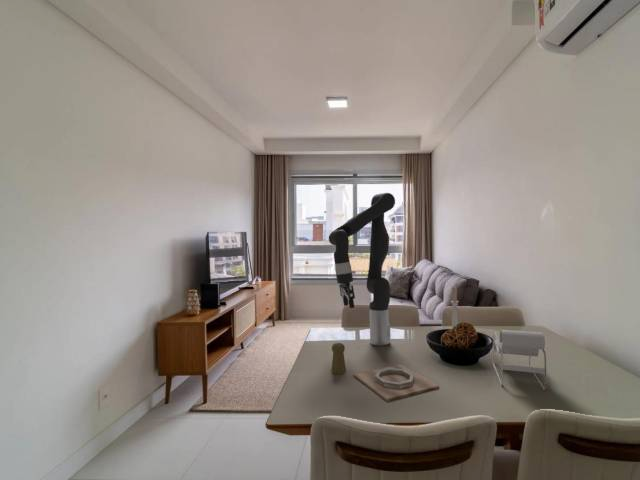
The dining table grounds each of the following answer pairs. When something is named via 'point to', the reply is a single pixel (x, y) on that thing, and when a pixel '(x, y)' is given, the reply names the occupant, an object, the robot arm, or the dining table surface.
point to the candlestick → (454, 307)
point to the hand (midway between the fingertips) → (349, 306)
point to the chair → (520, 350)
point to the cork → (338, 359)
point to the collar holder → (395, 382)
